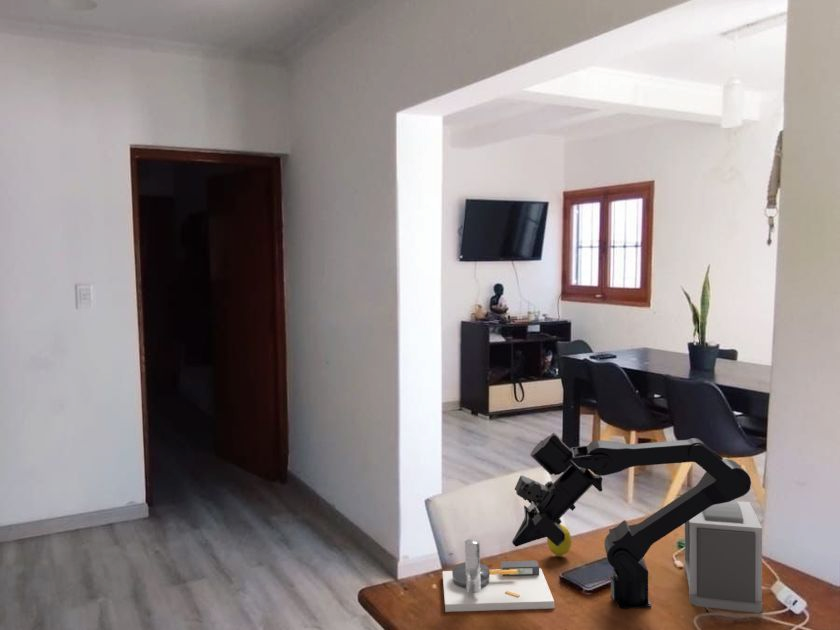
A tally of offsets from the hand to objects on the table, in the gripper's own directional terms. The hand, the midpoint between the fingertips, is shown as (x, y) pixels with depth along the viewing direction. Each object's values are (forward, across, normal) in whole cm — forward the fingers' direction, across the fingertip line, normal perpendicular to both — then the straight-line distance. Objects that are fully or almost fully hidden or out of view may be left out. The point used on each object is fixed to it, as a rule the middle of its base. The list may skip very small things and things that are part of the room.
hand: (513, 544), depth 140 cm
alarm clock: (-22, -3, +40) cm, 46 cm away
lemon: (-1, -20, +18) cm, 27 cm away
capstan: (+11, -4, +3) cm, 12 cm away
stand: (+11, -4, +6) cm, 13 cm away
